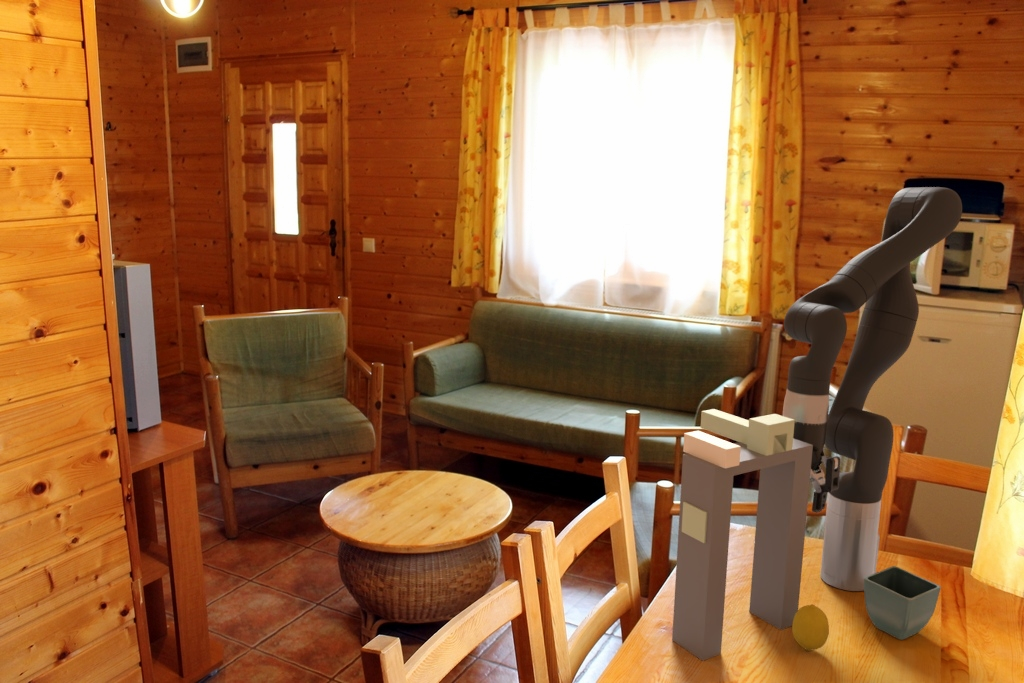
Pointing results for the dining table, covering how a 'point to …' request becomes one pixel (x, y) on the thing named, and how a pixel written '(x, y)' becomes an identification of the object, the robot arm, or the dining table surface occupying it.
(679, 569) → the grey arch
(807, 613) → the lemon
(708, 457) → the cream bar
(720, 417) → the pale yellow block
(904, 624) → the flower pot
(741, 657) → the dining table surface
